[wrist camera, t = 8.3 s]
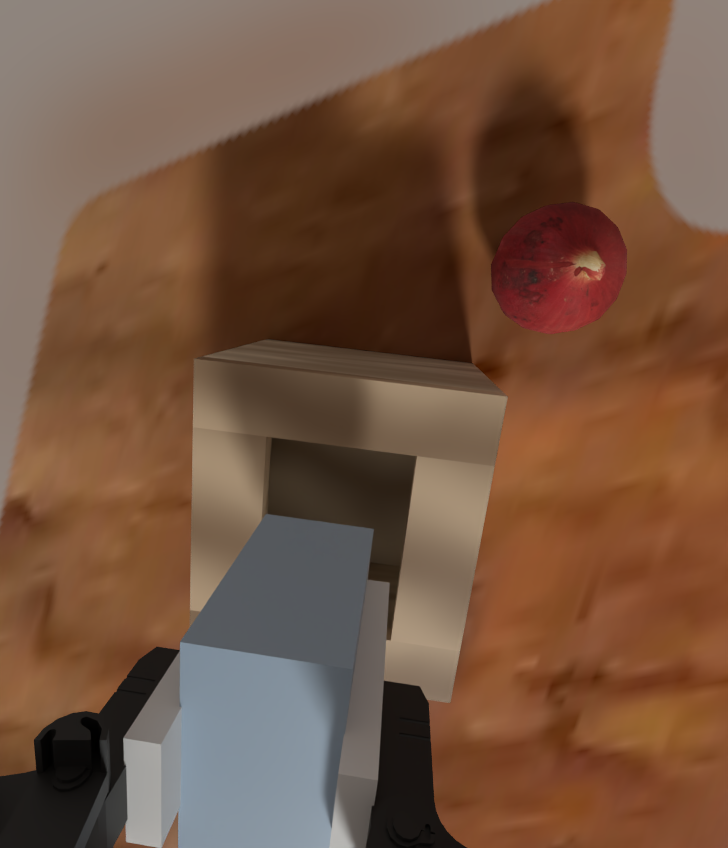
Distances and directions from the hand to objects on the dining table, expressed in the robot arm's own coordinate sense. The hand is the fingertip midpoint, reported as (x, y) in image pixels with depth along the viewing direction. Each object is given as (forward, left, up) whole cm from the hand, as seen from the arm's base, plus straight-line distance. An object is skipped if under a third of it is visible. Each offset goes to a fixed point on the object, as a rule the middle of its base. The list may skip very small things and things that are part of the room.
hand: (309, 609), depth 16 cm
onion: (-12, +9, -15) cm, 21 cm away
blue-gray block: (0, 0, 0) cm, 0 cm away
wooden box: (0, 0, -14) cm, 14 cm away
